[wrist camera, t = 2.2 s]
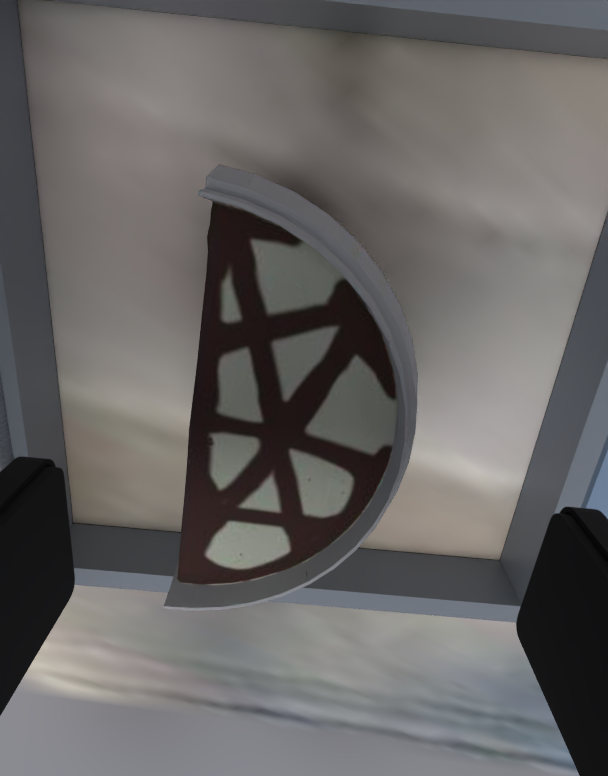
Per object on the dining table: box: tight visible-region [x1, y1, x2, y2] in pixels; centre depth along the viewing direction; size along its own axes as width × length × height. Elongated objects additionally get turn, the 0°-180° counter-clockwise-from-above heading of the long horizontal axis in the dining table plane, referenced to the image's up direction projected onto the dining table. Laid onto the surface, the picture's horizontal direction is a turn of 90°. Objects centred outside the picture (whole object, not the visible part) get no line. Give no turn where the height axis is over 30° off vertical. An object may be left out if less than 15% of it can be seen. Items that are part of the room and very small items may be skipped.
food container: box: [164, 164, 418, 611], centre depth 17 cm, size 12×6×10 cm, turn 170°
